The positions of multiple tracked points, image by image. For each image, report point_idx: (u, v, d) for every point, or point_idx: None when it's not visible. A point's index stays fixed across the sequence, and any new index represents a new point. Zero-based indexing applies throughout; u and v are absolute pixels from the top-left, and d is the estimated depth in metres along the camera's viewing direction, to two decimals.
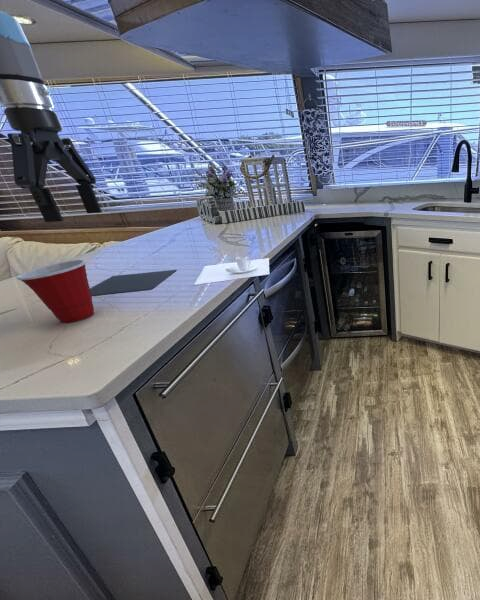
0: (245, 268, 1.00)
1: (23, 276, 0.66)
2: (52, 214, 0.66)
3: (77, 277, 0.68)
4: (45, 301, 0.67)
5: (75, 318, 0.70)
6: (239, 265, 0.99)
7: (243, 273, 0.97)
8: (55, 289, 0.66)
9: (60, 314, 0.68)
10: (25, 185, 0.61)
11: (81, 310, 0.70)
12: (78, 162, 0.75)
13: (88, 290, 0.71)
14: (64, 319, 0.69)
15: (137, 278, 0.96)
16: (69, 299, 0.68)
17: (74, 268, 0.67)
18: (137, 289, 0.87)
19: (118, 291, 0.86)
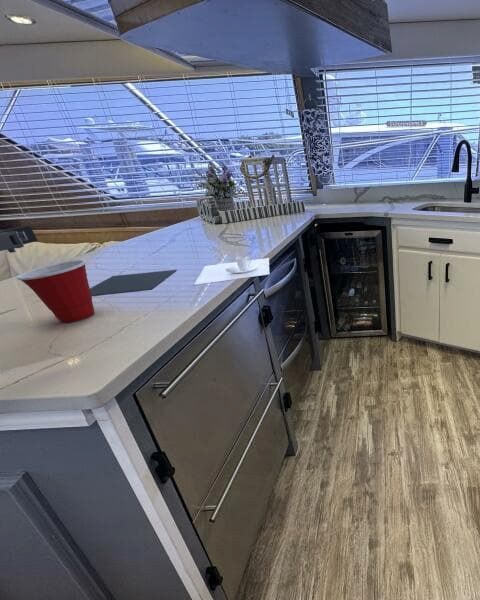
0: (245, 268, 1.00)
1: (23, 276, 0.66)
2: None
3: (77, 277, 0.68)
4: (45, 301, 0.67)
5: (75, 318, 0.70)
6: (239, 265, 0.99)
7: (243, 273, 0.97)
8: (55, 289, 0.66)
9: (60, 314, 0.68)
10: None
11: (81, 310, 0.70)
12: None
13: (88, 290, 0.71)
14: (64, 319, 0.69)
15: (137, 278, 0.96)
16: (69, 299, 0.68)
17: (74, 268, 0.67)
18: (137, 289, 0.87)
19: (118, 291, 0.86)
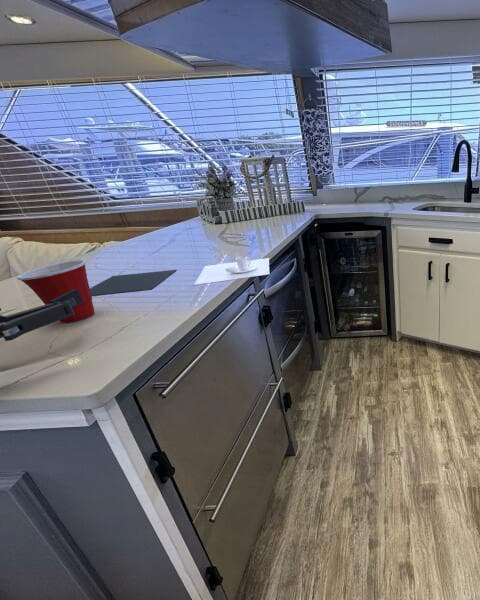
0: (245, 268, 1.00)
1: (23, 276, 0.66)
2: None
3: (77, 277, 0.68)
4: (45, 301, 0.67)
5: (75, 318, 0.70)
6: (239, 265, 0.99)
7: (243, 273, 0.97)
8: (55, 289, 0.66)
9: None
10: None
11: (81, 310, 0.70)
12: None
13: (88, 290, 0.71)
14: (64, 319, 0.69)
15: (137, 278, 0.96)
16: None
17: (74, 268, 0.67)
18: (137, 289, 0.87)
19: (118, 291, 0.86)
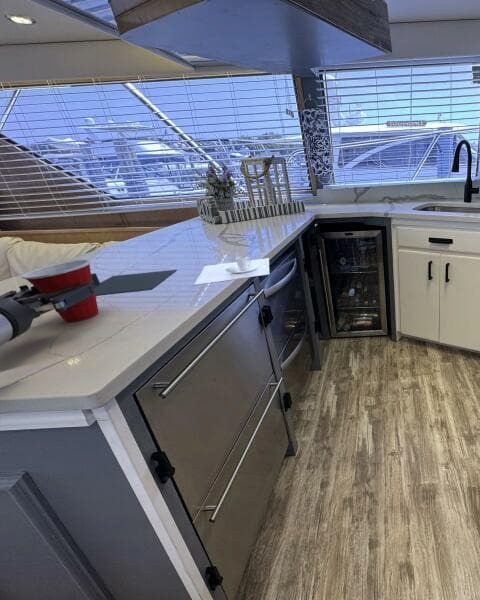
0: (245, 268, 1.00)
1: (29, 275, 0.66)
2: None
3: (81, 277, 0.68)
4: None
5: (79, 318, 0.70)
6: (239, 265, 0.99)
7: (243, 273, 0.97)
8: (58, 289, 0.66)
9: (64, 313, 0.69)
10: None
11: (85, 310, 0.70)
12: None
13: None
14: (68, 318, 0.69)
15: (137, 278, 0.96)
16: None
17: (77, 268, 0.67)
18: (137, 289, 0.87)
19: (118, 291, 0.86)
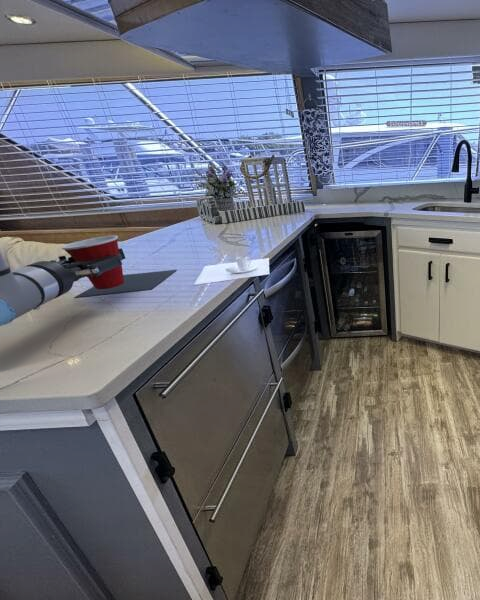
0: (245, 268, 1.00)
1: (66, 247, 0.77)
2: None
3: (110, 249, 0.78)
4: None
5: (108, 286, 0.80)
6: (239, 265, 0.99)
7: (243, 273, 0.97)
8: (92, 259, 0.76)
9: (95, 281, 0.79)
10: None
11: (113, 279, 0.81)
12: None
13: None
14: (99, 286, 0.80)
15: (137, 278, 0.96)
16: None
17: (108, 241, 0.77)
18: (137, 289, 0.87)
19: (118, 291, 0.86)
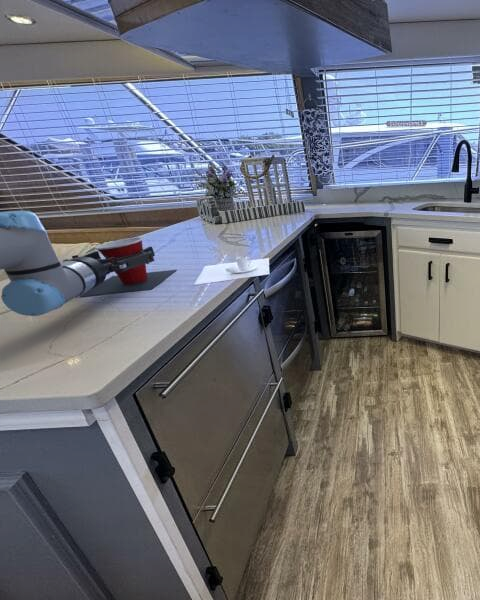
0: (245, 268, 1.00)
1: (99, 247, 0.88)
2: None
3: (136, 249, 0.90)
4: None
5: (134, 281, 0.91)
6: (239, 265, 0.99)
7: (243, 273, 0.97)
8: None
9: (123, 277, 0.90)
10: None
11: (138, 275, 0.92)
12: None
13: None
14: (126, 281, 0.91)
15: None
16: None
17: (135, 242, 0.88)
18: (137, 289, 0.87)
19: (118, 291, 0.86)
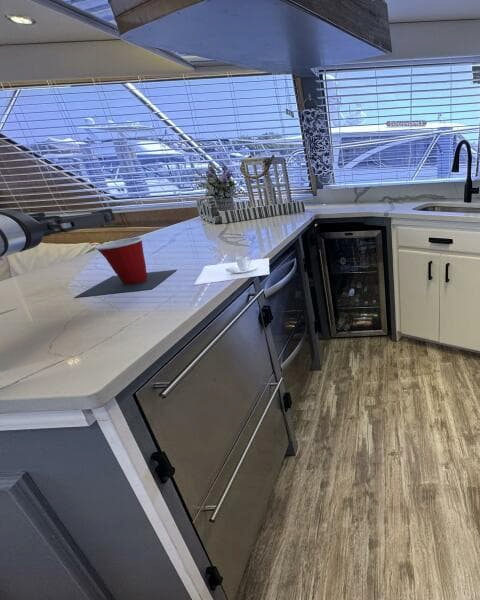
0: (245, 268, 1.00)
1: (99, 247, 0.88)
2: None
3: (136, 249, 0.90)
4: (114, 267, 0.88)
5: (134, 281, 0.91)
6: (239, 265, 0.99)
7: (243, 273, 0.97)
8: (121, 258, 0.87)
9: (123, 277, 0.90)
10: None
11: (138, 275, 0.92)
12: None
13: (143, 260, 0.93)
14: (126, 281, 0.91)
15: None
16: (131, 266, 0.89)
17: (135, 242, 0.88)
18: (137, 289, 0.87)
19: (118, 291, 0.86)
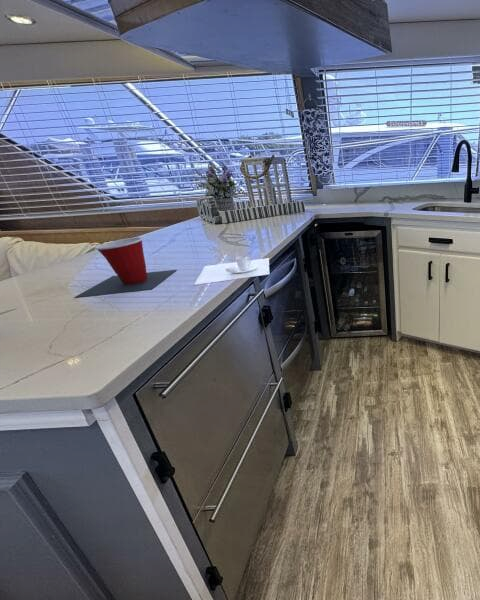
0: (245, 268, 1.00)
1: (99, 247, 0.88)
2: None
3: (136, 249, 0.90)
4: (114, 267, 0.88)
5: (134, 281, 0.91)
6: (239, 265, 0.99)
7: (243, 273, 0.97)
8: (121, 258, 0.87)
9: (123, 277, 0.90)
10: None
11: (138, 275, 0.92)
12: None
13: (143, 260, 0.93)
14: (126, 281, 0.91)
15: None
16: (131, 266, 0.89)
17: (135, 242, 0.88)
18: (137, 289, 0.87)
19: (118, 291, 0.86)
